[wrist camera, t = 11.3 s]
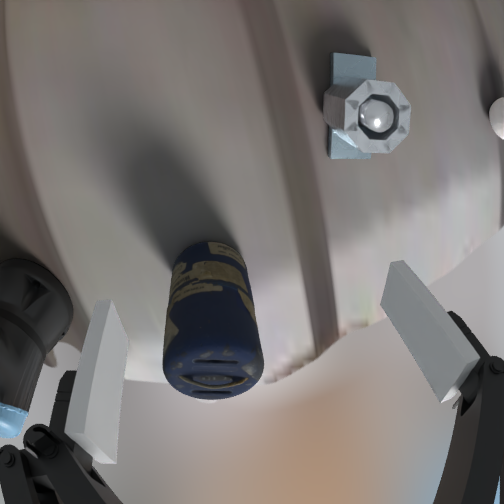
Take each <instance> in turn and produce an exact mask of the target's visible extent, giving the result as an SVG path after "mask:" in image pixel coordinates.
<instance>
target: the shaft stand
mask: <svg viewBox="0 0 504 504" xmlns="http://www.w3.org/2000/svg"><path fill="white" fill-rule="evenodd" d="M342 76H349V77H359V78H368V79H375V80H376V58H374V57H367V56H360V55H352V54H343V53H330V87H331V86H332V85H333V84H334V83H335V82H336V81H337V80H338V79H339V78H340V77H342ZM393 117H394V116H393V111H392V109H391V107H390V106H389V105H388V104H387V103H385V102H382V101H378V100H375V99H371V98H369V97H368V98H367V99H366V100H365V101H364V102H363V103H362V104H361V105H359V108H358V127H361V126H362V125H363V126H365V127H367V128H369V129H371V130H373V131H375V132H384V131H386V130H388V129H389V128H390V126H391V125H392V123H393ZM328 157H329V158H331V159H371V153H363V152H361V151H360V150H358V149H357V148H355V147H354V146H352V145H351V144H349V143H348V142H346V141H345V140H343V139H341V138H340V137H339V136H338V135H337V134H336V133H335V131H334V130H333V129H332V128H331V127H330V126H329V143H328Z"/></svg>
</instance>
